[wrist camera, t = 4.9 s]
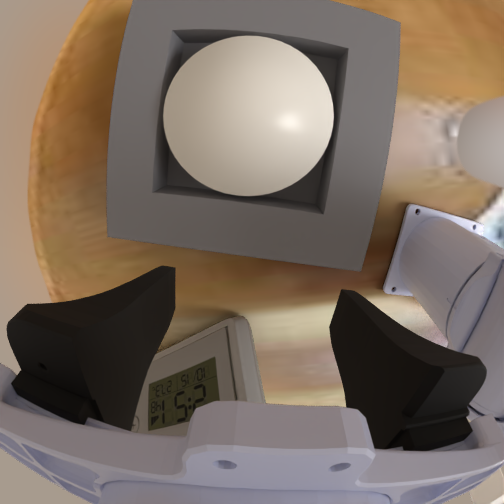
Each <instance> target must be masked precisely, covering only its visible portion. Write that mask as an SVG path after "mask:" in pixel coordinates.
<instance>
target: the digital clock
mask: <svg viewBox="0 0 504 504" xmlns="http://www.w3.org/2000/svg"><path fill="white" fill-rule="evenodd" d="M214 401H247V402H256V403H266V402H265V397H264V392H263V387H262V382H261V376H260V371H259V366H258V361H257V356H256V351H255V346H254V340H253V335H252V330H251V327H250V324H249V322H248V321H247V319H246V318H245V317H243V316H238V317H233V318H228V319H225V320H223V321H221V322H219V323H217V324H215V325H213V326H211V327H209V328H207V329H205V330H203V331H201V332H199V333H197V334H195V335H193V336H191V337H189V338H187V339H185V340H183V341H181V342H179V343H177V344H175V345H173V346H171V347H169V348H167V349H165V350H163V351H161V352H159V353H157V354H155V356H154V358H153V360H152V362H151V365H150V367H149V369H148V372H147V375H146V378H145V381H144V384H143V387H142V391H141V394H140V398H139V401H138V405H137V409H136V413H135V417H134V421H133V425H132V430H131V432H135V433H145V434H158V435H178V436H187V432H188V427H189V423H190V419H191V417H192V415H193V413H194V411H195V409H196V408H199V407H201V406H204V405H206V404H209V403H211V402H214Z"/></svg>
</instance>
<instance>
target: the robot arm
mask: <svg viewBox="0 0 504 504" xmlns="http://www.w3.org/2000/svg"><path fill="white" fill-rule="evenodd" d="M416 209H418V213H416V214H415V211H416ZM473 225H474V227H473ZM483 231H484V226H483V224H481V223H479V222H475V221H472V220H469V219H466V218H462V217H459V216H456V215H452V214H449V213H445V212H442V211H438V210H435V209H431V208H427V207H423V206H420V205H416V204H409V205H408V206H407V207H406V211H405V215H404V219H403V223H402V226H401V230H400V234H399V237H398V241H397V244H396V248H395V251H394V255H393V258H392V261H391V264H390V267H389V271H388V274H387V277H386V280H385V283H384V286H383V291H384V292H385V293H387V294H395V295H405V296H414V297H415V298H416V300H417V301H418V302H419V303H420V305H421V306H422V307H423V308H424V310H425V311H426V312H427V314H428V315H429V316H430V318H431V319H432V320H433V322H434V323H435V324H436V326H437V327H438V328H439V330H440V331H441V332H442V334H443V335H444V336H445V338H446V339H447V341H448V346H447V348H446V347H443V346H440V345H438V344H435V343H433V342H431V341H429V340H427V339H425V338H423V337H421V336H419V335H417V334H415V333H413V332H412V331H410V330H408V329H407V328H405V327H403V326H402V325H400V324H399V323H397V322H396V321H395V320H393V319H392V318H390V317H389V316H388V315H386V314H385V313H384V312H382V311H381V310H380V309H378V308H377V307H376V306H375V305H373V304H372V303H371V302H369V301H368V300H367V299H366V298H364V297H363V296H362V295H360V294H359V293H357V292H355V291H352V290H343V289H341V292H340V295H339V299H338V302H337V305H336V308H335V311H334V314H333V317H332V320H331V324H330V327H329V328H330V337H331V344H332V348H333V352H334V355H335V359H336V362H337V366H338V369H339V373H340V376H341V380H342V383H343V388H344V392H345V400H346V407H347V408H346V407H340V406H302V405H282V404H268V403H256V402H247V401H214V402H211V403H209V404H206V405H204V406H201V407H199V408H196V409H195V411H194V413H193V415H192V417H191V419H190V423H189V427H188V432H187V436H178V435H158V434H145V433H135V432H131V430H132V425H133V421H134V417H135V413H136V409H137V405H138V401H139V398H140V394H141V391H142V387H143V384H144V381H145V378H146V375H147V372H148V369H149V367H150V365H151V362H152V360H153V358H154V356H155V354H156V352H157V350H158V348H159V346H160V344H161V342H162V340H163V338H164V336H165V334H166V332H167V330H168V328H169V325H170V322H171V320H172V317H173V313H174V310H175V268H174V267H168V266H160V267H158V268H155V269H153V270H151V271H149V272H147V273H146V274H144V275H142V276H140V277H138V278H136V279H134V280H132V281H130V282H127V283H125V284H123V285H121V286H119V287H116V288H114V289H111V290H109V291H106V292H103V293H100V294H97V295H93V296H89V297H85V298H81V299H77V300H72V301H66V302H58V303H45V304H27V305H25V306H24V307H23V308H22V309H21V310H20V311H19V312H18V313H17V314H16V315H15V316H14V317H13V318H12V319H11V320H10V321H9V322H8V324H7V336H8V340H9V343H10V346H11V348H12V350H13V353H14V355H15V357H16V359H17V361H18V363H19V366H20V368H21V371H20V372H19V374H18V375H16V374H15V373H14V372H13V371H12V370H11V369H10V368H8V367H6V366H5V365H3V364H1V363H0V448H1V449H3V450H4V451H5V452H7V453H8V454H10V455H11V456H12V457H14V458H15V459H16V460H18V461H19V462H21V463H22V464H24V465H25V466H27V467H28V468H30V469H31V470H33V471H34V472H36V473H38V474H39V475H41V476H42V477H44V478H45V479H47V480H49V481H50V482H52V483H54V484H56V485H57V486H59V487H61V488H63V489H64V490H66V491H68V492H70V493H72V494H74V495H76V496H78V497H80V498H82V499H84V500H86V501H88V502H90V503H92V504H442V503H444V502H447V501H449V500H451V499H453V498H455V497H458V496H460V495H462V494H464V493H466V492H468V491H470V490H472V489H474V488H476V487H477V486H478V485H480V484H481V483H482V482H484V481H485V480H486V479H487V478H489V477H490V476H491V475H492V474H494V473H495V472H496V471H497V470H498V469H500V467H502V466H503V465H504V249H503V248H501V247H499V246H498V245H496V244H495V243H493V242H492V241H490V240H488V239H487V238H485V237H483V236H482V234H483ZM393 287H395V288H394V289H393V290H392V288H393ZM467 419H468V420H470V421H471V422H468V420H467Z"/></svg>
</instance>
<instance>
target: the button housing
mask: <svg viewBox="0 0 504 504" xmlns="http://www.w3.org/2000/svg"><path fill="white" fill-rule="evenodd" d="M237 36H261V37H267V38H271V39H275V40H278V41H281V42H283V43H286V44H288V45H290V46H292V47H293V48H295V49H297V50H298V51H300V52H301V53H302V54H304V55H305V56H306V57H307V58H309V59H310V61H311V62H312V63H313V64H314V65H315V66H316V67H317V68H318V70H319V71H320V73H321V74H322V76H323V77H324V79H325V81H326V83H327V85H328V88H329V91H330V94H331V98H332V102H333V112H334V119H333V128H332V133H331V137H330V140H329V143H328V145H327V148H326V149H325V151H324V153H323V155H322V157H321V158H320V160H319V161H318V162H317V164H316V165H315V166H314V167H313V168H312V169H311V170H310V171H309V172H308V173H307V174H306V175H305V176H304V177H302V178H301V179H300V180H298V181H297V182H295V183H294V184H292V185H290V186H288V187H286V188H284V189H282V190H279V191H276V192H273V193H269V194H264V195H258V196H238V195H232V194H226V193H223V192H220V191H217V190H214V189H212V188H210V187H208V186H205V185H204V184H202V183H201V182H199V181H197V180H196V179H195V178H193V177H192V176H191V175H190V174H189V173H188V172H187V171H186V170H185V169H184V168H183V167H182V166H181V165H180V163H179V162H178V161H177V159H176V158H175V156H174V154H173V153H172V151H171V149H170V147H169V144H168V141H167V138H166V134H165V130H164V121H163V113H164V104H165V99H166V95H167V92H168V89H169V86H170V84H171V82H172V80H173V78H174V77H175V75H176V74H177V72H178V71H179V69H180V68H181V67H182V66H183V65H184V64H185V62H186V61H187V60H188V59H190V58H191V57H192V56H193V55H194V54H195V53H197V52H198V51H200V50H201V49H203V48H204V47H206V46H208V45H210V44H212V43H215V42H217V41H220V40H223V39H227V38H231V37H237ZM399 56H400V22H397V21H395V20H392V19H390V18H387V17H384V16H381V15H378V14H375V13H372V12H369V11H366V10H363V9H359V8H356V7H353V6H349V5H345V4H341V3H337V2H333V1H329V0H133V3H132V6H131V10H130V13H129V17H128V21H127V25H126V29H125V33H124V37H123V42H122V47H121V51H120V57H119V62H118V67H117V73H116V79H115V86H114V93H113V100H112V109H111V118H110V129H109V141H108V158H107V234H108V237H112V238H119V239H126V240H133V241H140V242H147V243H154V244H161V245H168V246H175V247H183V248H190V249H197V250H204V251H211V252H219V253H226V254H233V255H240V256H248V257H255V258H262V259H270V260H277V261H284V262H292V263H299V264H307V265H314V266H322V267H329V268H337V269H344V270H352V271H359V272H361V269H362V266H363V262H364V259H365V255H366V252H367V248H368V244H369V240H370V237H371V233H372V229H373V225H374V221H375V217H376V212H377V208H378V204H379V199H380V195H381V190H382V185H383V180H384V175H385V170H386V164H387V159H388V153H389V147H390V141H391V134H392V127H393V120H394V112H395V104H396V95H397V84H398V72H399Z"/></svg>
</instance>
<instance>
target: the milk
mask: <svg viewBox="0 0 504 504" xmlns="http://www.w3.org/2000/svg"><path fill="white" fill-rule="evenodd" d="M467 420H468V419H467ZM468 422H471V421H470V420H468ZM469 493H470V496H471V499H472V502H473V504H504V476H503V473H502V471H501V469H498V470H497V471H496V472H495V473H494V474H492V475H491V476H490V477H489V478H487V479H486V480H485V481H484V482H482V483H481V484H480V485H478V486H477V487H476V488H474V489H472V490H470V491H469Z"/></svg>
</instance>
